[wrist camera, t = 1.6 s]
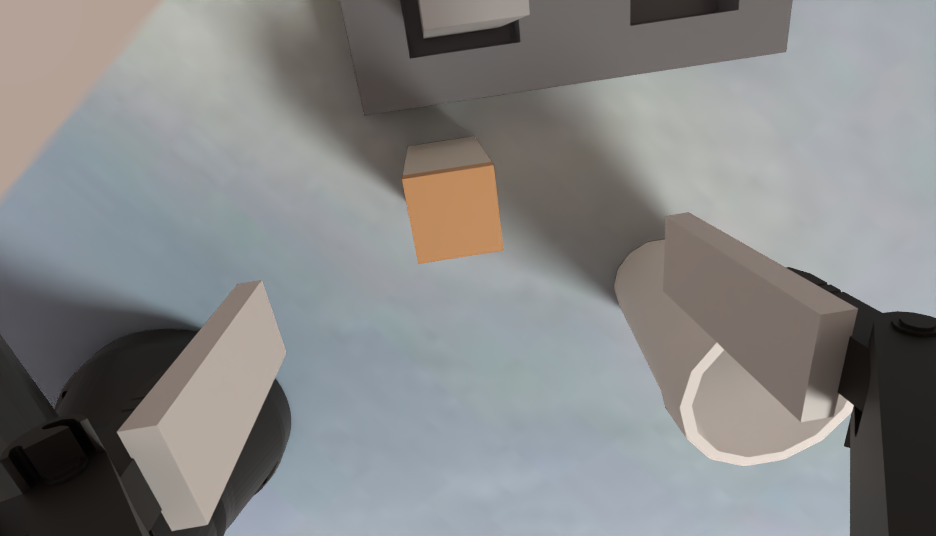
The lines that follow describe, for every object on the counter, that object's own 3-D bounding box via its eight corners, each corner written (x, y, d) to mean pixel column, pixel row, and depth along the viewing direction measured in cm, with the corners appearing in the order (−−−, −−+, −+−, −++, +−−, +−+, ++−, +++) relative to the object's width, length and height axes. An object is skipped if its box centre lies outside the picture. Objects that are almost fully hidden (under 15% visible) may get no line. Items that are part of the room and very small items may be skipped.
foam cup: (649, 193, 33) (779, 271, 21) (745, 255, 35) (910, 356, 23) (568, 303, 35) (642, 427, 24) (662, 353, 38) (771, 487, 26)
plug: (419, 210, 32) (418, 263, 23) (407, 146, 30) (401, 179, 22) (482, 201, 32) (503, 250, 24) (474, 136, 30) (493, 165, 22)
